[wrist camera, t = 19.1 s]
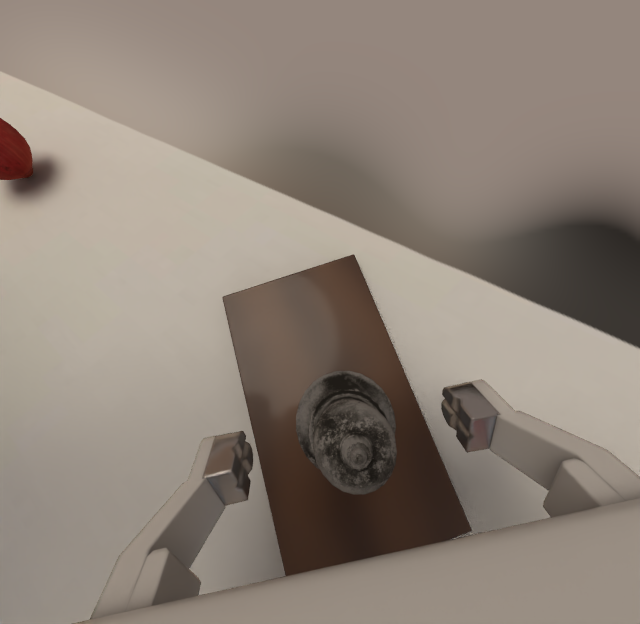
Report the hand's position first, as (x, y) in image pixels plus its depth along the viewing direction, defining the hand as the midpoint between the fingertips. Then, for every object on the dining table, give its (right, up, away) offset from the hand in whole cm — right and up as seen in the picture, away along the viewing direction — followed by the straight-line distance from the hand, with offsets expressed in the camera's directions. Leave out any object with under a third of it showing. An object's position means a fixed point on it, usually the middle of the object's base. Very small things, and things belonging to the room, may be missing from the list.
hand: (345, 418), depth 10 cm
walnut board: (0, -2, +10) cm, 10 cm away
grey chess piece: (+1, -3, +8) cm, 9 cm away
